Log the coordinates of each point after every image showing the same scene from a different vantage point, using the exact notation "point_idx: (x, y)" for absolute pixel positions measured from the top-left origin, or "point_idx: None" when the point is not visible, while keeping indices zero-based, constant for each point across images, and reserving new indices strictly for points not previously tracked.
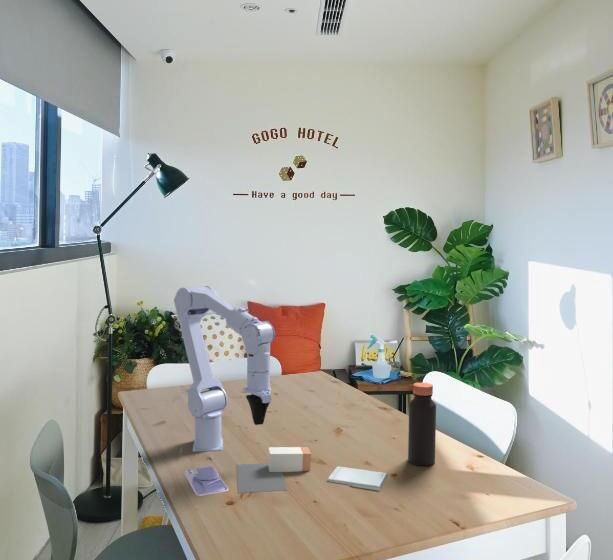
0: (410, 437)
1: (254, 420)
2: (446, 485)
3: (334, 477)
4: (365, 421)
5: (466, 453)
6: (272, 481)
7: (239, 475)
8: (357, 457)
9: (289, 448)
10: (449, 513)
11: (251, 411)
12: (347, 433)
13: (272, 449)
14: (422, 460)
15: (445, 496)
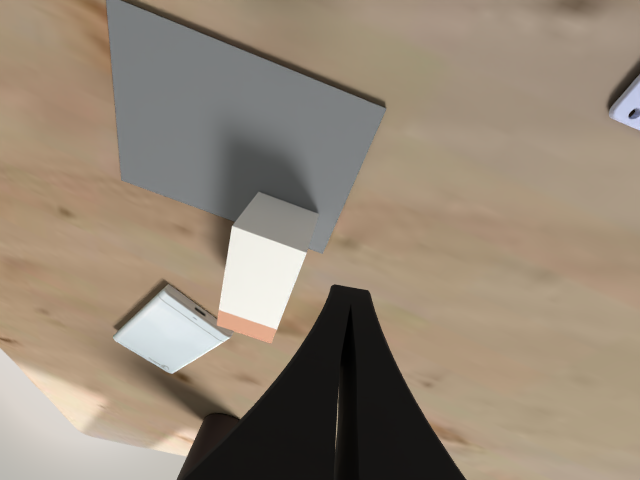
0: None
1: (326, 302)
2: (132, 396)
3: (165, 303)
4: None
5: None
6: (188, 169)
7: (273, 74)
8: None
9: (274, 302)
10: (36, 351)
11: (387, 360)
12: None
13: (278, 254)
14: (201, 426)
15: (94, 376)
